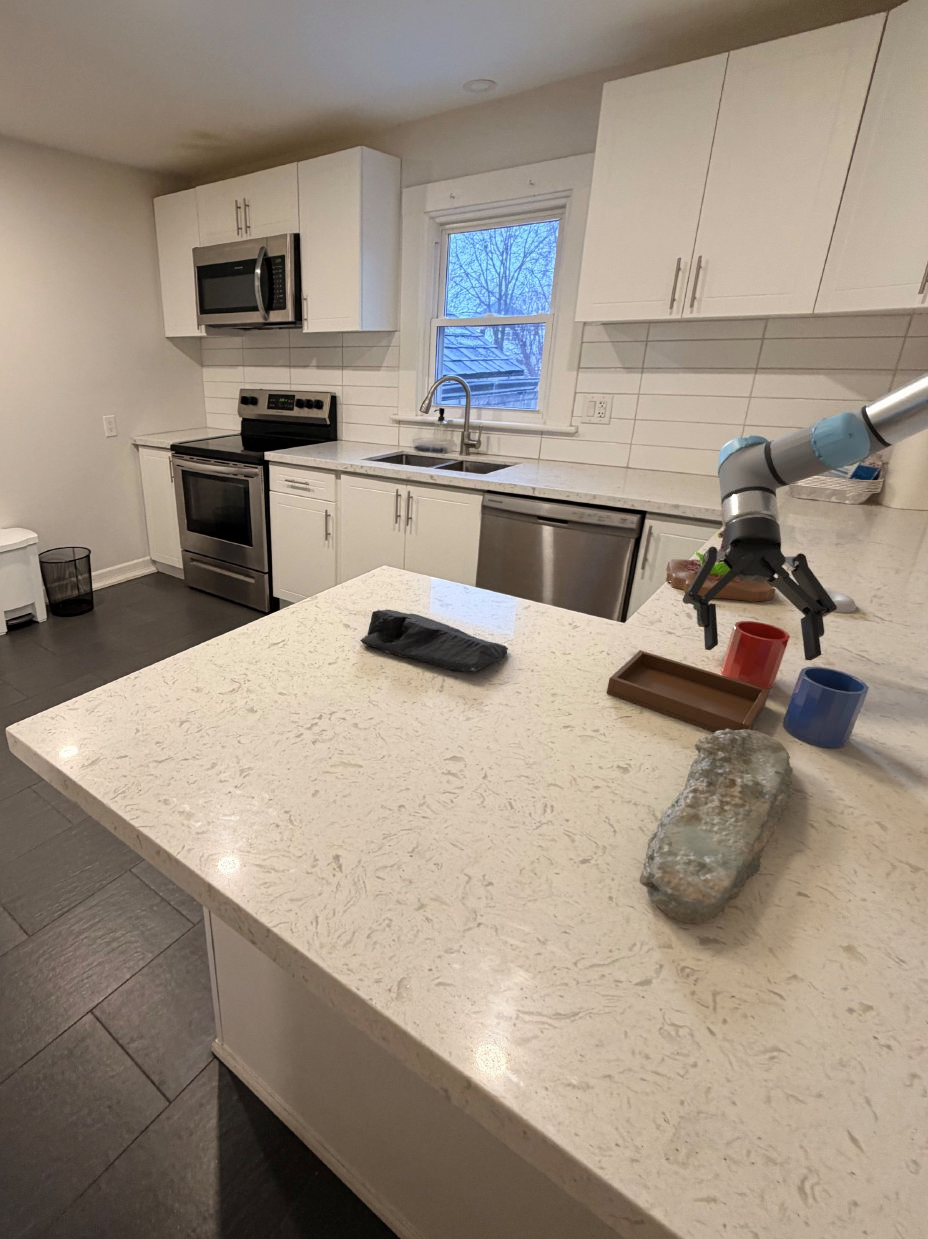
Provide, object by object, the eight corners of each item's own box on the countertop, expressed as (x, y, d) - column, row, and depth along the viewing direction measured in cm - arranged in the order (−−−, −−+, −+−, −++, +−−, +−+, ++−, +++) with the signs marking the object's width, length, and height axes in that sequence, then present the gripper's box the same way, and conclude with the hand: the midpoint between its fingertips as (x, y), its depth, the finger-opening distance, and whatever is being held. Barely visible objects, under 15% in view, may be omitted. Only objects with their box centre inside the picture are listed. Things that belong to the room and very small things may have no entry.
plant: (749, 573, 143) (763, 525, 139) (785, 605, 126) (803, 551, 121) (653, 565, 147) (664, 517, 143) (675, 595, 130) (688, 542, 125)
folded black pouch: (470, 688, 93) (474, 659, 91) (351, 643, 106) (352, 617, 104) (515, 652, 104) (519, 626, 102) (402, 616, 117) (404, 592, 115)
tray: (764, 705, 90) (770, 689, 89) (744, 742, 82) (749, 725, 81) (636, 664, 101) (639, 649, 100) (606, 693, 93) (609, 677, 92)
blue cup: (850, 732, 84) (871, 679, 81) (843, 755, 80) (865, 699, 77) (787, 712, 89) (805, 661, 86) (777, 733, 84) (796, 679, 81)
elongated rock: (605, 897, 60) (722, 967, 54) (618, 857, 58) (742, 926, 52) (711, 730, 83) (801, 766, 77) (723, 697, 81) (817, 731, 75)
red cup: (778, 677, 98) (793, 630, 95) (768, 694, 93) (784, 645, 90) (727, 662, 103) (740, 617, 99) (715, 677, 98) (729, 630, 95)
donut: (785, 610, 124) (849, 624, 118) (790, 594, 123) (855, 607, 116) (794, 597, 131) (855, 609, 124) (799, 581, 129) (861, 593, 123)
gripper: (824, 544, 103) (841, 669, 95) (658, 532, 108) (662, 650, 100) (853, 520, 96) (874, 653, 88) (674, 508, 101) (679, 634, 93)
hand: (761, 652), depth 94 cm, fingers open, 13 cm apart
